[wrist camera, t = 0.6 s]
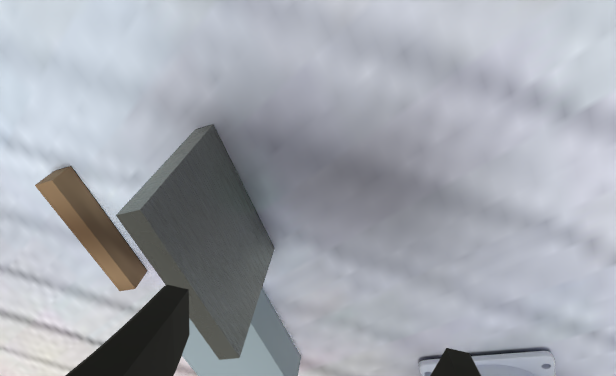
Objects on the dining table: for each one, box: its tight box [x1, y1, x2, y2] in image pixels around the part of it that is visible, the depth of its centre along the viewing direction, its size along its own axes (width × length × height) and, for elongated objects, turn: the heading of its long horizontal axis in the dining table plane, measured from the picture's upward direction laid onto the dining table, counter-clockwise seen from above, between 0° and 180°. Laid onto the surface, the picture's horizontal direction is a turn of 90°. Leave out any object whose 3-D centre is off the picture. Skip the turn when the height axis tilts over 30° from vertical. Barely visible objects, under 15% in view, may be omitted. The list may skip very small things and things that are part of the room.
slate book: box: [182, 289, 301, 376], centre depth 26 cm, size 8×6×3 cm
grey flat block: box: [116, 125, 274, 360], centre depth 18 cm, size 8×1×7 cm, turn 19°
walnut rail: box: [35, 166, 147, 291], centre depth 23 cm, size 8×1×2 cm, turn 19°
